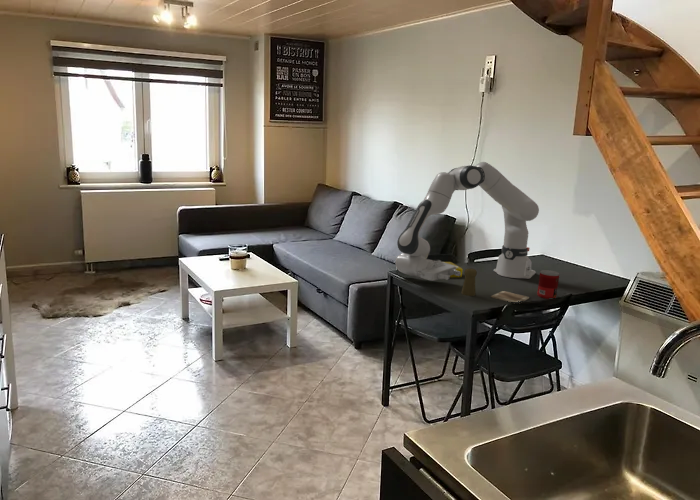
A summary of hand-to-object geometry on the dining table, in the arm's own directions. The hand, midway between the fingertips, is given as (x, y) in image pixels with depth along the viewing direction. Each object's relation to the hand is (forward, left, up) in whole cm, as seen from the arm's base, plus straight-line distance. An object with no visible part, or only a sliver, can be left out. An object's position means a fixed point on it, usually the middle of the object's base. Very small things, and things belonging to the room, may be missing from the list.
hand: (454, 275), depth 251 cm
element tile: (-22, -18, -7) cm, 30 cm away
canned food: (-24, +32, -7) cm, 41 cm away
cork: (0, +7, -7) cm, 10 cm away
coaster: (-9, +22, -6) cm, 25 cm away
